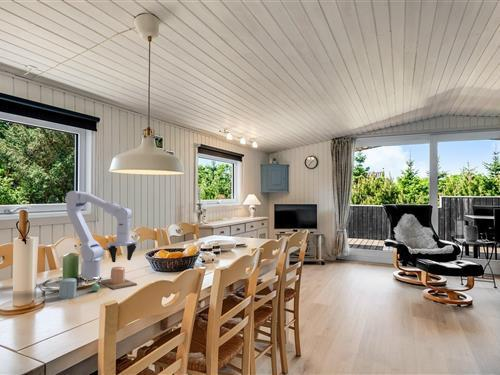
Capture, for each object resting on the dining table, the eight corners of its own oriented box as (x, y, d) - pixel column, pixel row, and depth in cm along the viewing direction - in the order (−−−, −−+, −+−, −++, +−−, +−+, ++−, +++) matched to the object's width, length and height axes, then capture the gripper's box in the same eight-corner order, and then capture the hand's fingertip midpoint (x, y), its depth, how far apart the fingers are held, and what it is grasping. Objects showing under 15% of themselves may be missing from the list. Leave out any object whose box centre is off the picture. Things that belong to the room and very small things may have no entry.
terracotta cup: (108, 282, 146) (109, 267, 146) (120, 280, 150) (120, 266, 150) (114, 284, 142) (115, 270, 143) (126, 282, 147) (126, 268, 147)
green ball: (90, 291, 134) (90, 283, 134) (97, 289, 136) (98, 282, 136) (93, 292, 132) (93, 285, 132) (100, 291, 134) (101, 284, 134)
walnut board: (97, 282, 147) (97, 280, 147) (120, 278, 156) (120, 276, 156) (113, 289, 137) (113, 288, 137) (137, 285, 145) (137, 283, 145)
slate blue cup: (57, 296, 125) (58, 279, 126) (72, 293, 130) (73, 277, 130) (62, 299, 122) (63, 282, 122) (77, 296, 126) (78, 280, 126)
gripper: (111, 234, 144) (110, 264, 144) (141, 232, 155) (139, 260, 155) (105, 232, 149) (103, 261, 149) (133, 231, 160) (132, 258, 160)
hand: (121, 260), depth 152 cm, fingers open, 7 cm apart
